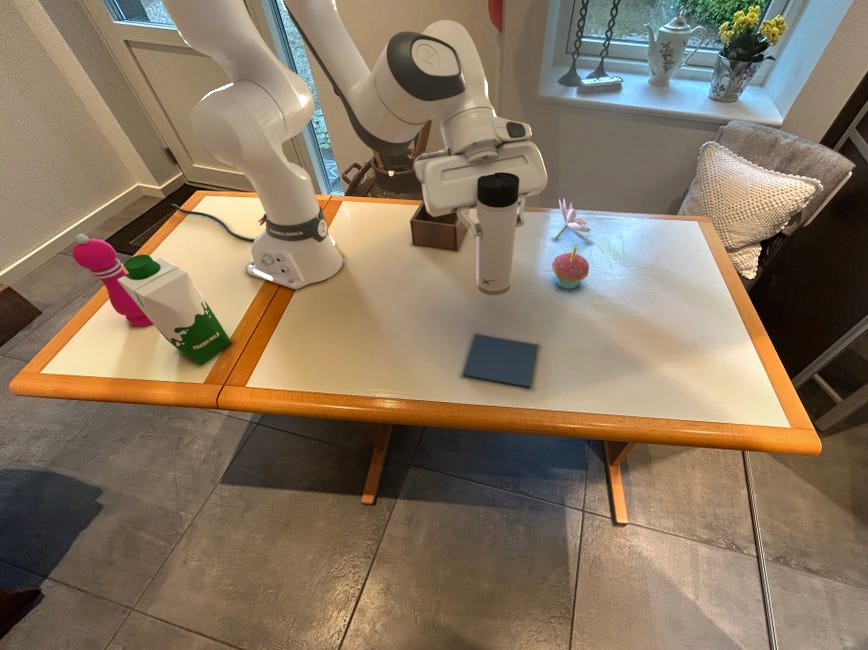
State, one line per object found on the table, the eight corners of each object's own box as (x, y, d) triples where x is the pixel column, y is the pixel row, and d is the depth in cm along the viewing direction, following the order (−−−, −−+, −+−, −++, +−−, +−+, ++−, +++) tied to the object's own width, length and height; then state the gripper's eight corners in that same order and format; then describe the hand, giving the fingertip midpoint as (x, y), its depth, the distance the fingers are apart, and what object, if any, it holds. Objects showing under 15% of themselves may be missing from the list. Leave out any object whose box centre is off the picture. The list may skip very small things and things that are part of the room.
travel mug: (487, 301, 70) (491, 190, 55) (470, 280, 74) (469, 170, 59) (518, 290, 72) (529, 181, 57) (500, 270, 76) (506, 162, 60)
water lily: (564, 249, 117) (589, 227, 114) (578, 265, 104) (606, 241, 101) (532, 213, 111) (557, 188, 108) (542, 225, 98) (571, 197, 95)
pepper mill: (174, 310, 88) (111, 228, 73) (146, 332, 84) (74, 249, 68) (148, 302, 89) (82, 220, 74) (119, 323, 85) (43, 241, 70)
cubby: (412, 244, 106) (409, 220, 100) (425, 222, 113) (423, 199, 107) (457, 251, 104) (456, 226, 99) (467, 228, 111) (466, 204, 106)
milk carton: (211, 326, 85) (155, 244, 70) (239, 342, 82) (186, 261, 67) (172, 351, 80) (102, 270, 65) (200, 370, 77) (133, 289, 62)
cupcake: (584, 296, 93) (596, 252, 84) (547, 291, 94) (555, 247, 85) (585, 274, 98) (596, 230, 89) (550, 269, 99) (558, 225, 90)
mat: (462, 376, 77) (462, 374, 77) (475, 336, 84) (475, 334, 84) (529, 388, 75) (530, 386, 75) (536, 346, 82) (537, 344, 82)
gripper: (412, 144, 56) (441, 240, 58) (539, 123, 62) (562, 212, 64) (407, 163, 62) (433, 250, 64) (522, 143, 68) (544, 223, 70)
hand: (498, 231), depth 64 cm, fingers closed on travel mug, 6 cm apart
